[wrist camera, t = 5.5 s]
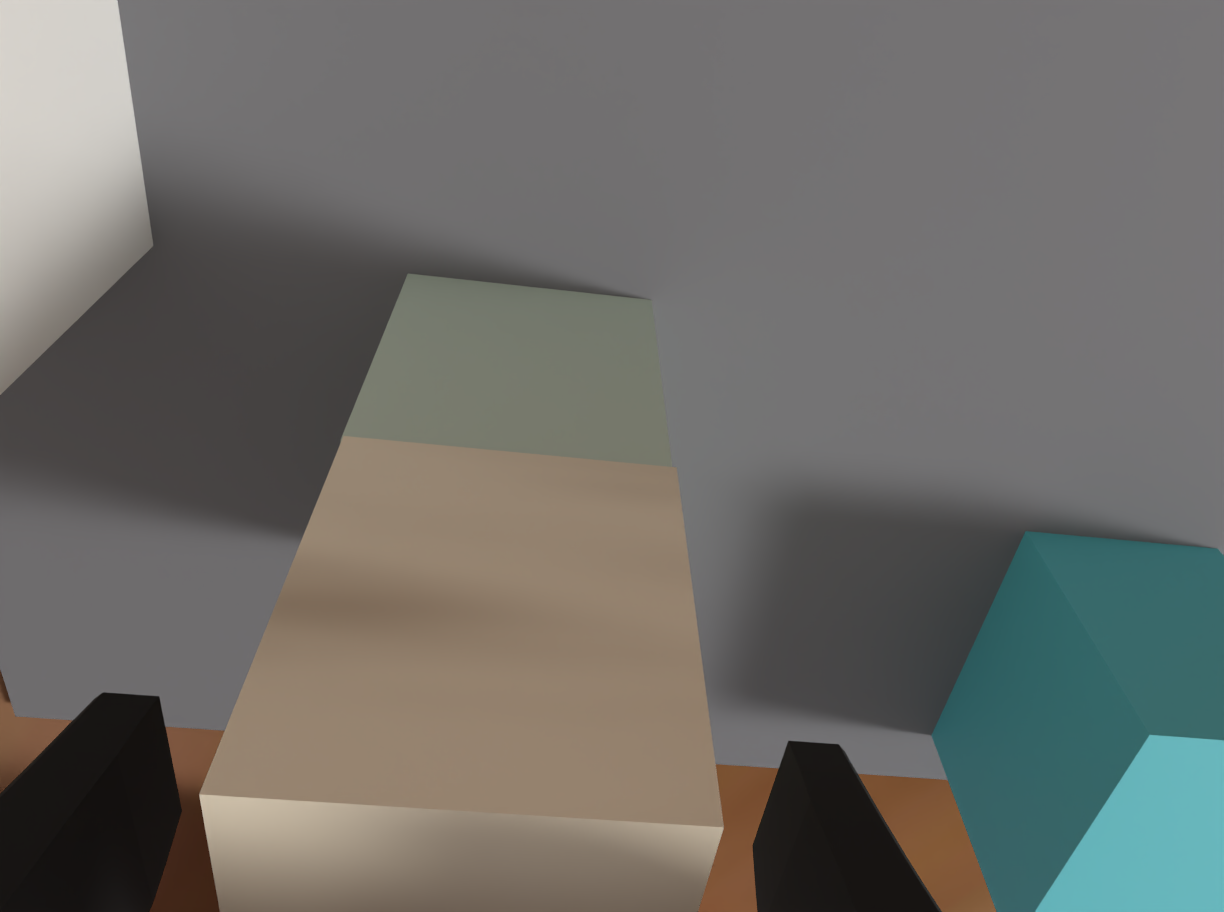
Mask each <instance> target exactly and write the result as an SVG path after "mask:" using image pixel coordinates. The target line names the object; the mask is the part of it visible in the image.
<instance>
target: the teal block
mask: <svg viewBox="0 0 1224 912" xmlns="http://www.w3.org/2000/svg"><path fill="white" fill-rule="evenodd" d="M931 736H932V738H933V741H934V744H935V747H936V749H937V752H938V755H939V757H940V760H941V763H942V765H943V768H944V771H945V774H946V776H947V779H948V782H949V784H950V787H951V790H952V792H953V795H954V798H955V801H956V803H957V806H958V809H959V811H960V814H961V817H962V819H963V822H964V825H965V828H966V830H967V833H968V836H969V838H970V841H971V844H972V846H973V849H974V852H975V855H976V857H977V860H978V863H979V865H980V868H981V871H982V873H983V876H984V879H985V882H986V884H987V887H988V890H989V892H990V895H991V898H992V900H993V903H994V906H995V909H996V911H997V912H1224V555H1223V554H1222V553H1221V552H1220V551H1219V550H1218V549H1216V548H1205V547H1194V546H1183V545H1172V544H1161V543H1150V542H1139V541H1128V540H1117V539H1106V538H1095V537H1084V536H1073V535H1062V534H1052V533H1041V532H1030V531H1026V532H1025V534H1024V536H1023V538H1022V540H1021V542H1020V545H1019V547H1018V549H1017V551H1016V553H1015V555H1014V558H1013V560H1012V562H1011V564H1010V566H1009V568H1008V571H1007V573H1006V575H1005V577H1004V579H1003V581H1002V584H1001V586H1000V588H999V590H998V592H997V594H996V597H995V599H994V601H993V603H992V605H991V607H990V610H989V612H988V614H987V616H986V618H985V620H984V623H983V625H982V627H981V629H980V631H979V633H978V636H977V638H976V640H975V642H974V644H973V646H972V649H971V651H970V653H969V655H968V657H967V659H966V662H965V664H964V666H963V668H962V670H961V672H960V675H959V677H958V679H957V681H956V683H955V685H954V688H953V690H952V692H951V694H950V696H949V698H948V701H947V703H946V705H945V707H944V709H943V711H942V714H941V716H940V718H939V720H938V722H937V724H936V727H935V729H934V731H933V733H932V735H931Z"/></svg>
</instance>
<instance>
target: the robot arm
mask: <svg viewBox="0 0 1224 912" xmlns="http://www.w3.org/2000/svg"><path fill="white" fill-rule="evenodd" d="M181 812H182V809H181V804H180V799H179V794H178V789H177V784H176V779H175V774H174V769H173V763H172V758H171V753H170V748H169V743H168V738H167V733H166V728H165V723H164V718H163V713H162V708H161V702H160V697H159V696H149V695H135V694H121V693H106V692H103V693H101V694H100V695H99V696H97V697H96V698H95V699H93V700H92V702H91V703H90V704H89V705H88V706H87V707H86V708H85V709H84V710H83V711H82V712H81V713H80V714H79V715H78V716H77V717H76V718H75V719H74V720H73V721H72V722H71V723H70V724H69V725H68V726H67V727H66V728H65V729H64V730H63V731H62V732H61V733H60V734H59V735H58V736H57V737H56V738H55V739H54V740H53V741H52V742H51V743H50V744H49V745H48V746H47V747H46V748H45V750H44V751H43V752H42V753H41V754H40V755H39V756H38V757H37V758H36V759H35V760H34V761H33V762H32V763H31V764H30V765H29V766H28V767H27V768H26V769H25V770H24V771H23V772H22V773H21V774H20V775H19V776H18V777H17V778H16V779H15V780H14V781H13V782H12V783H11V784H10V785H9V786H8V787H7V788H6V789H5V790H4V791H3V792H2V793H0V912H149V911H150V909H151V906H152V904H153V901H154V898H155V895H156V892H157V889H158V886H159V883H160V880H161V877H162V874H163V871H164V868H165V865H166V861H167V858H168V855H169V852H170V848H171V845H172V842H173V838H174V835H175V832H176V828H177V825H178V822H179V819H180V815H181ZM753 858H754V872H755V886H756V899H757V910H758V912H942V911H941V910H940V908H939V907H938V905H937V904H936V902H935V901H934V899H933V898H932V896H931V895H930V893H929V891H928V890H927V888H926V887H925V885H924V884H923V882H922V881H921V879H920V877H919V876H918V874H917V873H916V871H915V869H914V868H913V866H912V865H911V863H910V862H909V860H908V858H907V857H906V855H905V853H904V852H903V850H902V848H901V847H900V845H899V843H898V842H897V840H896V839H895V837H894V835H893V834H892V832H891V830H890V829H889V827H888V825H887V824H886V822H885V820H884V819H883V817H882V815H881V813H880V812H879V810H878V808H877V807H876V805H875V803H874V802H873V800H872V798H871V796H870V795H869V793H868V791H867V789H866V788H865V786H864V784H863V783H862V781H861V779H860V777H859V776H858V774H857V772H856V770H855V769H854V767H853V765H852V763H851V761H850V760H849V758H848V756H847V754H846V753H845V751H844V750H843V749H842V748H841V746H840V745H839V744H829V743H815V742H801V741H788V743H787V746H786V749H785V752H784V755H783V758H782V761H781V764H780V767H779V770H778V773H777V775H776V778H775V781H774V784H773V787H772V790H771V793H770V796H769V799H768V802H767V805H766V808H765V811H764V814H763V817H762V820H761V823H760V825H759V828H758V831H757V834H756V837H755V840H754V843H753Z"/></svg>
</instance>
